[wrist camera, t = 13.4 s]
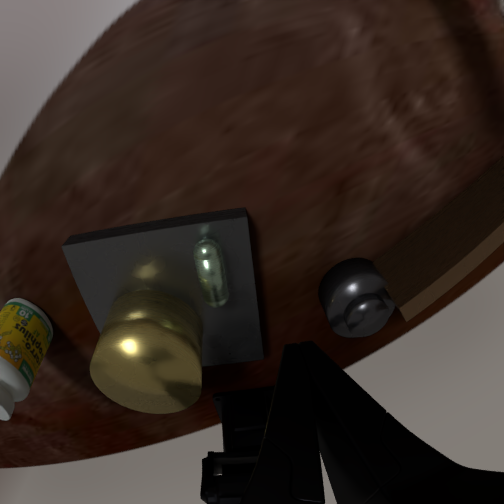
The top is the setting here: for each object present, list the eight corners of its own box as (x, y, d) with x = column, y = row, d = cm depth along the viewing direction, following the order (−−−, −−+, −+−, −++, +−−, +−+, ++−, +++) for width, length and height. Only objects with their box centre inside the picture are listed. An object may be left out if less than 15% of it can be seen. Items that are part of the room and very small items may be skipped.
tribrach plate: (261, 345, 25) (272, 411, 19) (124, 358, 25) (110, 420, 19) (245, 207, 19) (256, 262, 14) (70, 235, 19) (27, 291, 13)
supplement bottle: (-3, 303, 21) (-51, 380, 12) (30, 289, 20) (-23, 377, 12) (30, 346, 23) (-5, 425, 15) (65, 337, 23) (30, 427, 15)
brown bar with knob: (337, 323, 24) (358, 370, 20) (305, 285, 22) (325, 335, 18) (509, 187, 20) (549, 211, 15) (497, 138, 17) (543, 157, 13)
